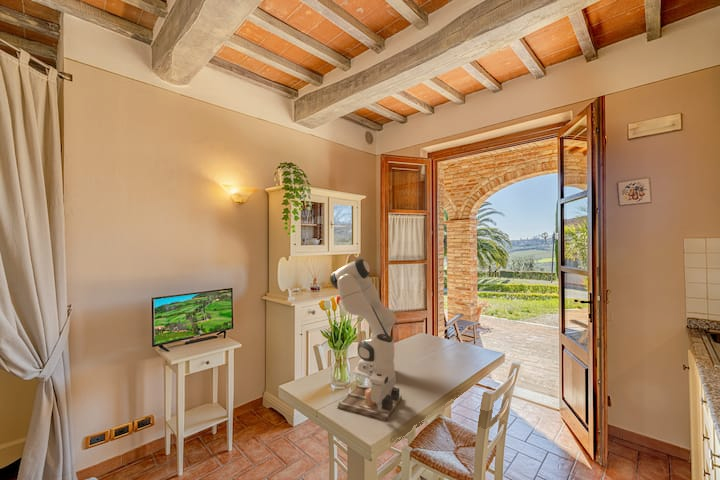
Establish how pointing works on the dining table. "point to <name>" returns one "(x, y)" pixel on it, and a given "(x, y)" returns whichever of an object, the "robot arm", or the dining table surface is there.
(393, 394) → the strip
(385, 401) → the strip
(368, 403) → the orange rounded piece
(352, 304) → the robot arm
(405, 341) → the dining table surface
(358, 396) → the lane board
